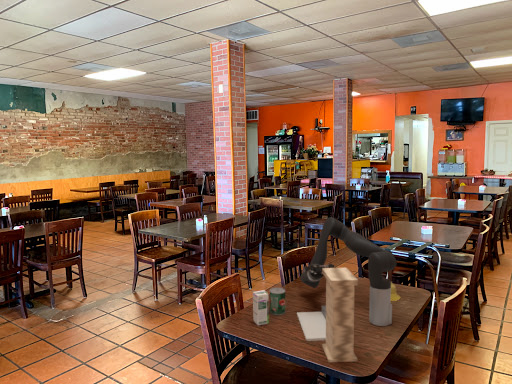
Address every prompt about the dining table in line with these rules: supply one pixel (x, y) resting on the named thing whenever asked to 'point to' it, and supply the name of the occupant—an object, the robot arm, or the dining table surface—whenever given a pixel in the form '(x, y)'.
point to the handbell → (393, 288)
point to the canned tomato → (277, 301)
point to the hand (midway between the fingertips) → (321, 265)
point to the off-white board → (313, 325)
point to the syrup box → (261, 307)
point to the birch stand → (339, 314)
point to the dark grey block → (323, 310)
